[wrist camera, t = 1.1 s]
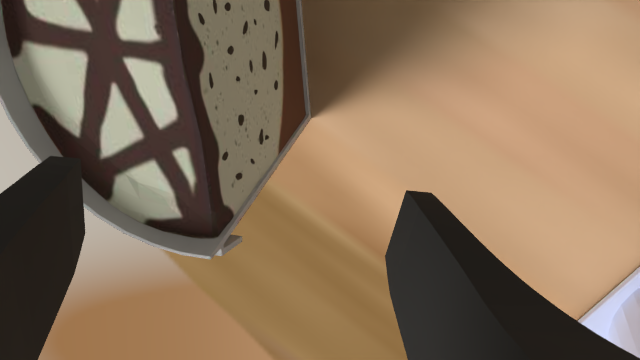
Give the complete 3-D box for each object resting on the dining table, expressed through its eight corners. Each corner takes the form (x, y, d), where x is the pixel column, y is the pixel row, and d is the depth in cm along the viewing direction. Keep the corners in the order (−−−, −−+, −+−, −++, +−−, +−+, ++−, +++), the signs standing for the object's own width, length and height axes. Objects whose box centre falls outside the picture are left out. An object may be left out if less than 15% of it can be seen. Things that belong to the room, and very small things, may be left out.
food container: (129, -163, 22) (-122, -230, 13) (285, -186, 20) (122, -282, 11) (182, 150, 26) (24, 261, 17) (314, 152, 25) (213, 276, 16)
